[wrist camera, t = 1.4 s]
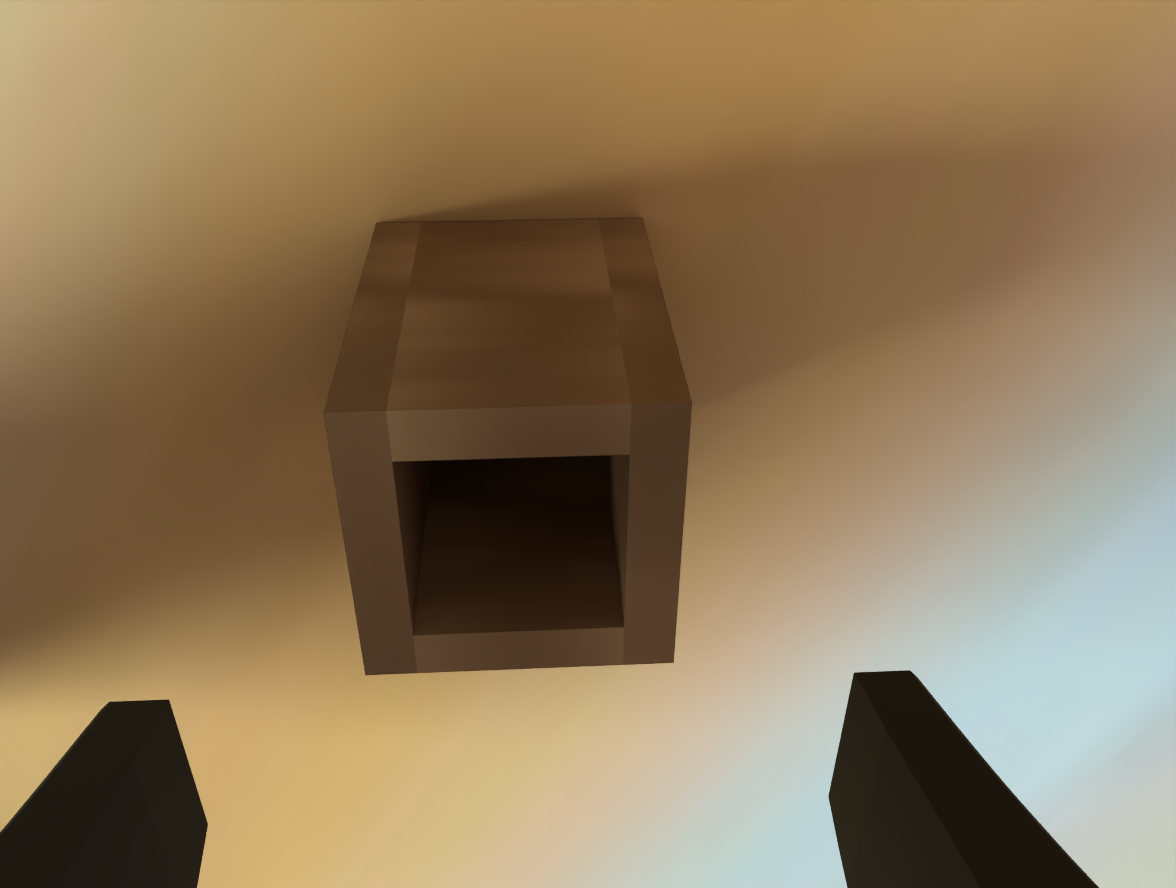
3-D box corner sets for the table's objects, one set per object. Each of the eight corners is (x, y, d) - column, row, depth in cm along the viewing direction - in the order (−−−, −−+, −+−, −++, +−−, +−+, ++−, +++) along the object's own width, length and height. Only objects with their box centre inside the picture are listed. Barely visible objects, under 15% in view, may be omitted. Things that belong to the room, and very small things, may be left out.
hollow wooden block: (401, 445, 20) (365, 674, 15) (375, 223, 18) (323, 413, 13) (634, 437, 21) (673, 662, 16) (642, 217, 18) (692, 402, 13)
